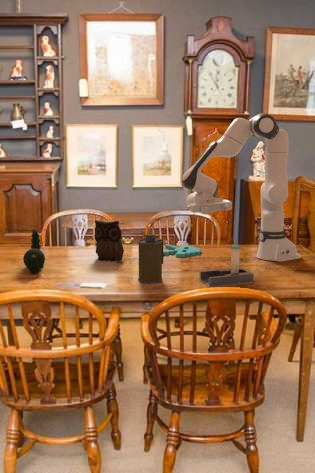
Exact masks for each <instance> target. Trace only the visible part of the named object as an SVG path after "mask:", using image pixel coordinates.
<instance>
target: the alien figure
mask: <svg viewBox="0 0 315 473" xmlns="http://www.w3.org/2000/svg"><path fill="white" fill-rule="evenodd" d="M164 248H165V249H168V250H165V251H164V250H163V257H164V256H170V255H169V254H172V255H174V254H175V257H176V258H185V257H194V256H200V255H201V253H202V248H198V247H194V246H192V245H190V244H181V246H180V247H178V246H174V245H171V244H170V243H169V244H168V243H166V244H165V246H164ZM171 249H172V250H171ZM172 255H171V256H172Z"/></svg>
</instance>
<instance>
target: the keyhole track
mask: <svg viewBox="0 0 315 473" xmlns="http://www.w3.org/2000/svg"><path fill="white" fill-rule="evenodd" d="M198 280H199V281H201V282H202V283H203V284H205V285H206V286H208V287H209V288H210V287H212V288H218V287H217V286H222V287H229V286H239V285H240V286H241V285H247V284H248V285H249V284H254V283H255V282H254V273H253V272H250V271H249V270H247V269H245V268H244V267H241V266H239V273H234V274H231V267H230V268H221V269H209V270H208V269H207V270H200V271H199V279H198Z"/></svg>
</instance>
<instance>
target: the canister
mask: <svg viewBox="0 0 315 473" xmlns="http://www.w3.org/2000/svg"><path fill="white" fill-rule="evenodd" d="M143 237H144V238H141V239H138V240H137V243H138V278H137V281H139V282H140V283H142V284H143V283H144V284H150V283H152V284H159V283H162V281H163V265H164V256H163V252H164V239H163V238H157V237H156V235H155V234H153V233H148V234H144V235H143Z"/></svg>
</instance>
